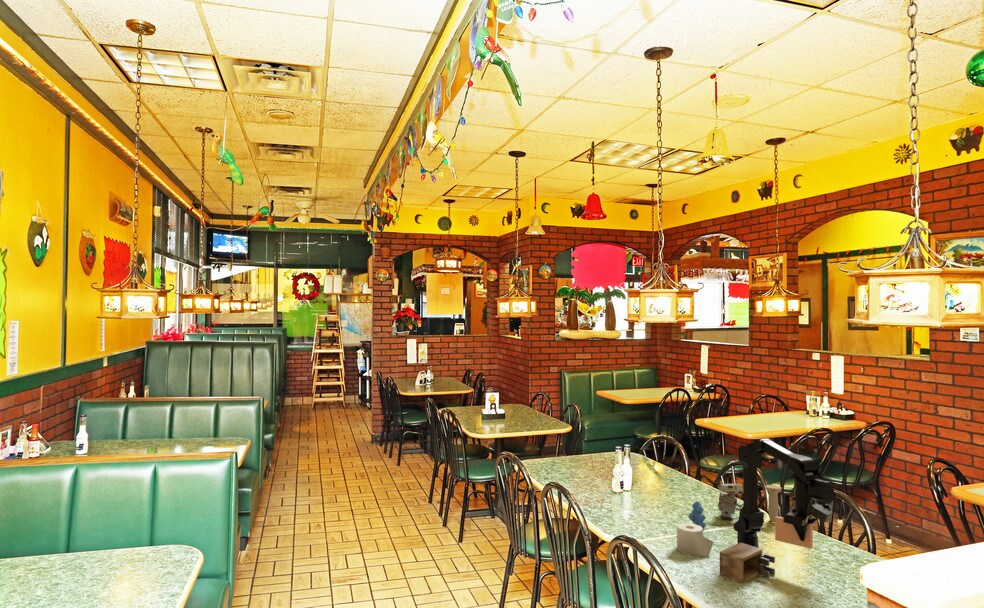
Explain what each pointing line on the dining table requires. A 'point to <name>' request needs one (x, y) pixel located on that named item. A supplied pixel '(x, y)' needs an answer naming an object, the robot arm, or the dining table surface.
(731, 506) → the figurine
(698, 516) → the grapes
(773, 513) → the handle
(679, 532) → the toilet tissue
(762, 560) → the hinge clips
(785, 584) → the dining table surface
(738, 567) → the cabinet
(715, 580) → the dining table surface
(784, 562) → the dining table surface
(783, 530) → the cabinet door
